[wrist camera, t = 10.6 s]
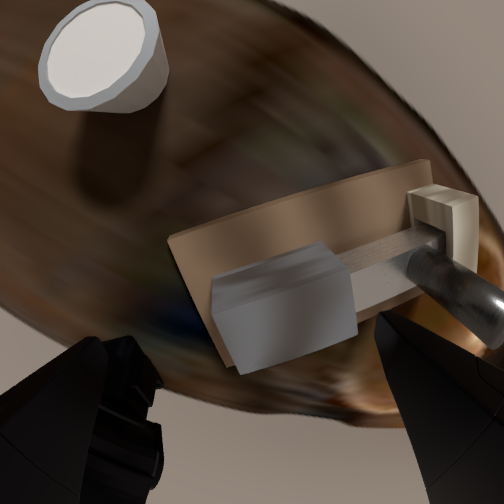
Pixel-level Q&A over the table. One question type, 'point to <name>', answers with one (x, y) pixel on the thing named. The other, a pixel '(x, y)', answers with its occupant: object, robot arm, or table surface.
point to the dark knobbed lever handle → (426, 279)
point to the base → (310, 260)
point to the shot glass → (105, 58)
